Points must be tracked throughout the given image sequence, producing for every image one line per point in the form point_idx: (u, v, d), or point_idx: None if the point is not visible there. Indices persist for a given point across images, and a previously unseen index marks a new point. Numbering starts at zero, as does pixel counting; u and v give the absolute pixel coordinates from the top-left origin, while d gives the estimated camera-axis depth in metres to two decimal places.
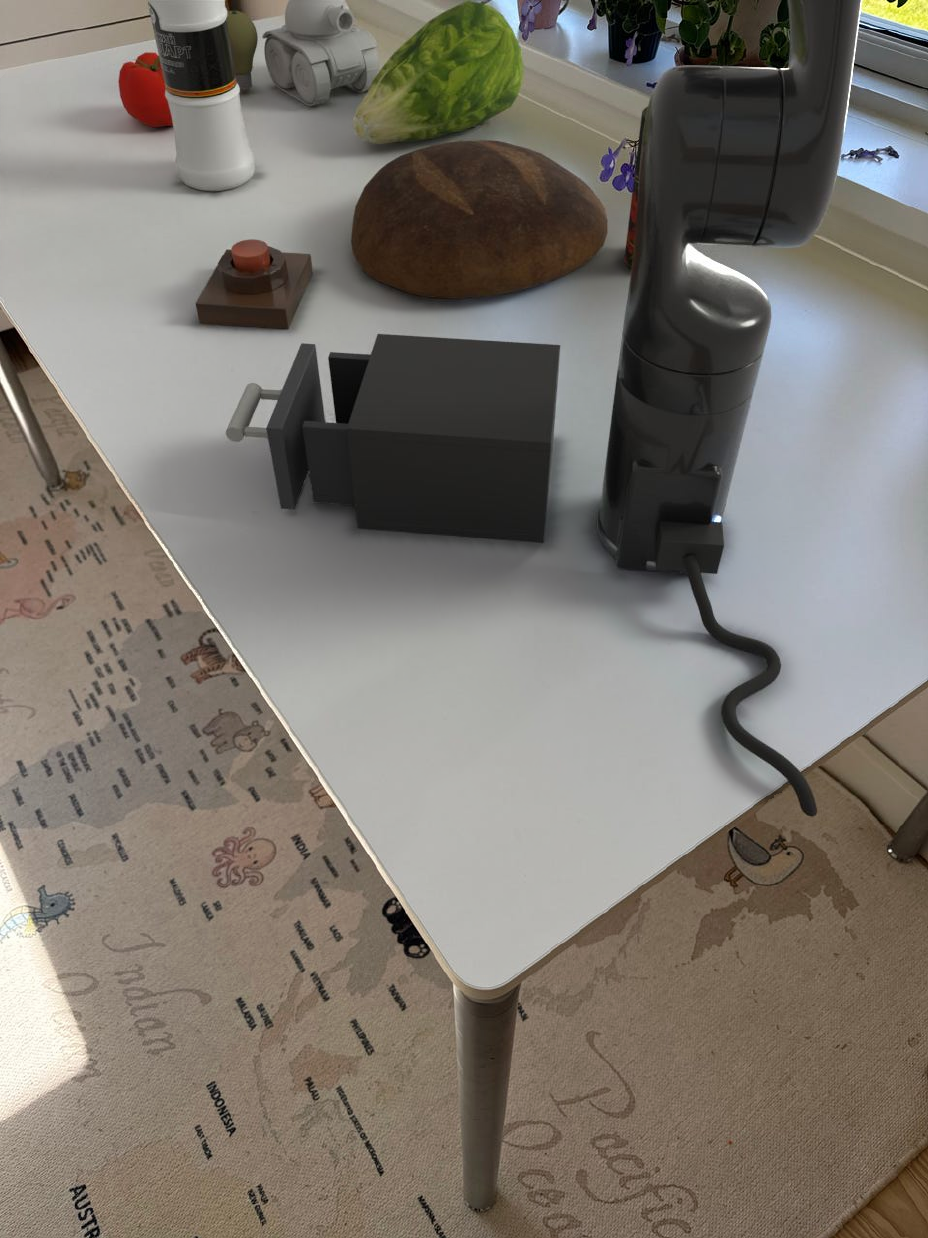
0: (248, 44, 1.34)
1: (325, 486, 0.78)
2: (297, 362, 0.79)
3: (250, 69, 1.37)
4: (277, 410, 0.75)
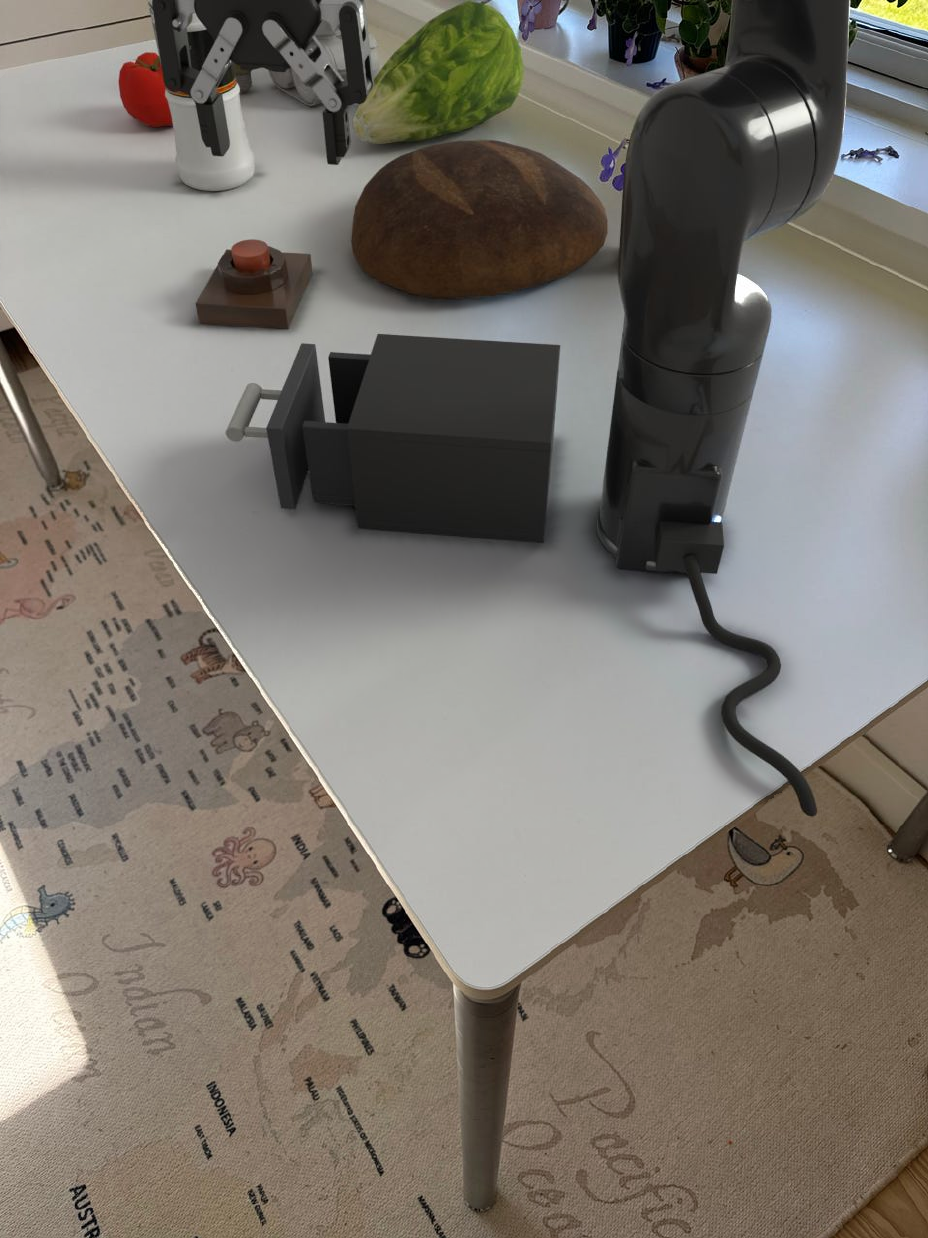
0: None
1: (325, 486, 0.78)
2: (297, 362, 0.79)
3: None
4: (277, 410, 0.75)
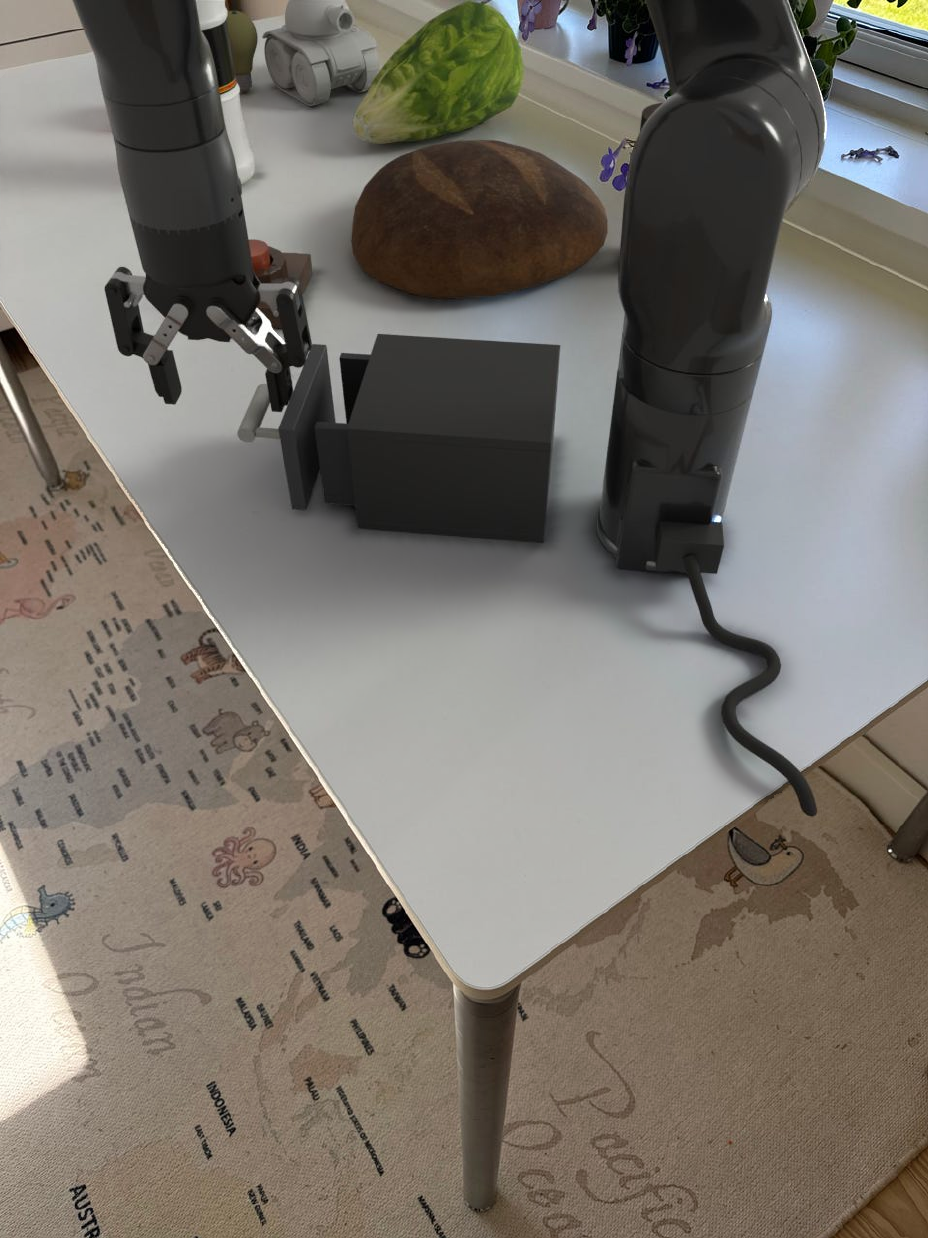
0: (248, 44, 1.34)
1: (337, 487, 0.78)
2: (308, 363, 0.79)
3: (250, 69, 1.37)
4: (289, 411, 0.75)
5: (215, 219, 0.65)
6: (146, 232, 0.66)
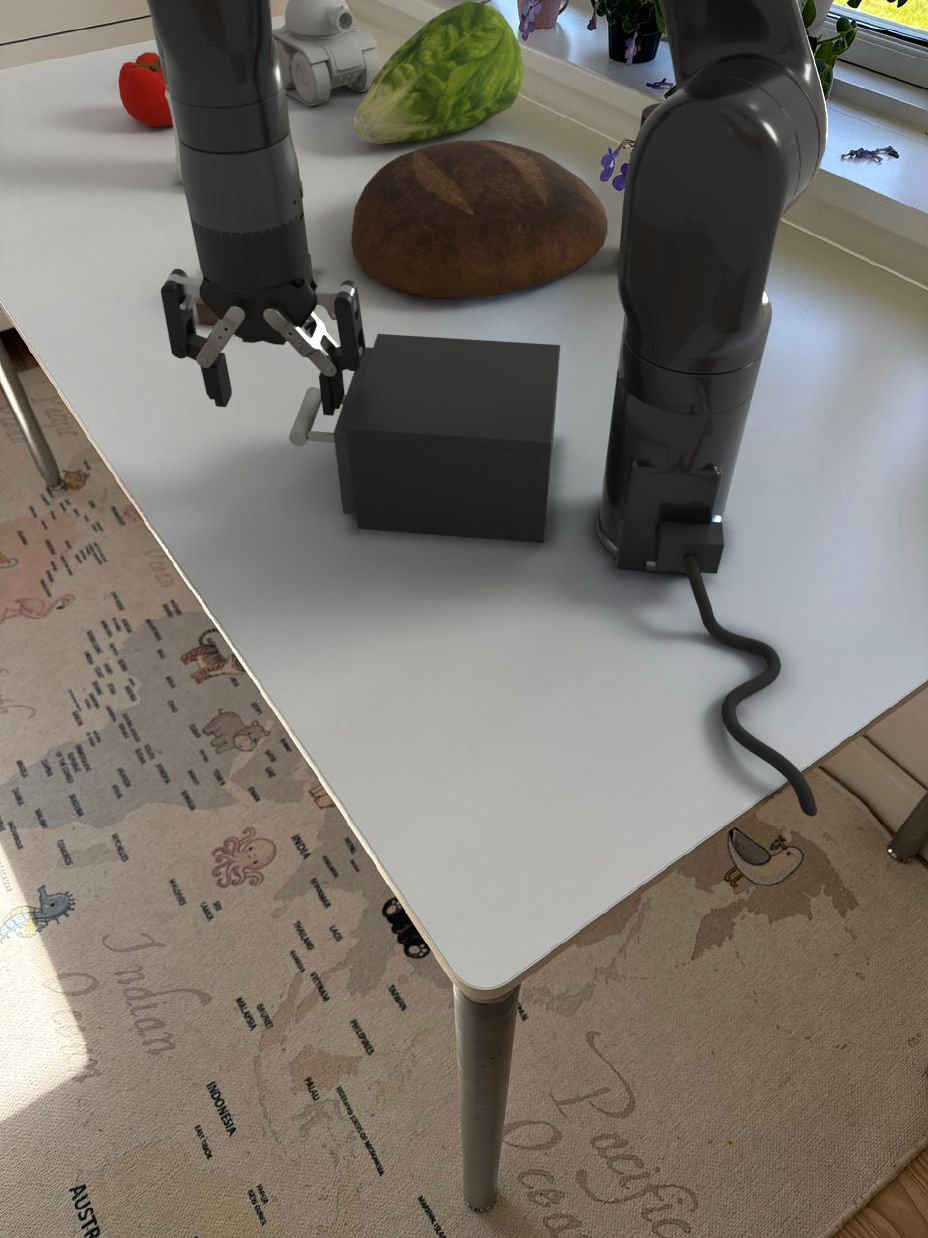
0: None
1: None
2: (360, 366, 0.79)
3: None
4: (343, 415, 0.74)
5: (278, 222, 0.65)
6: (208, 234, 0.65)
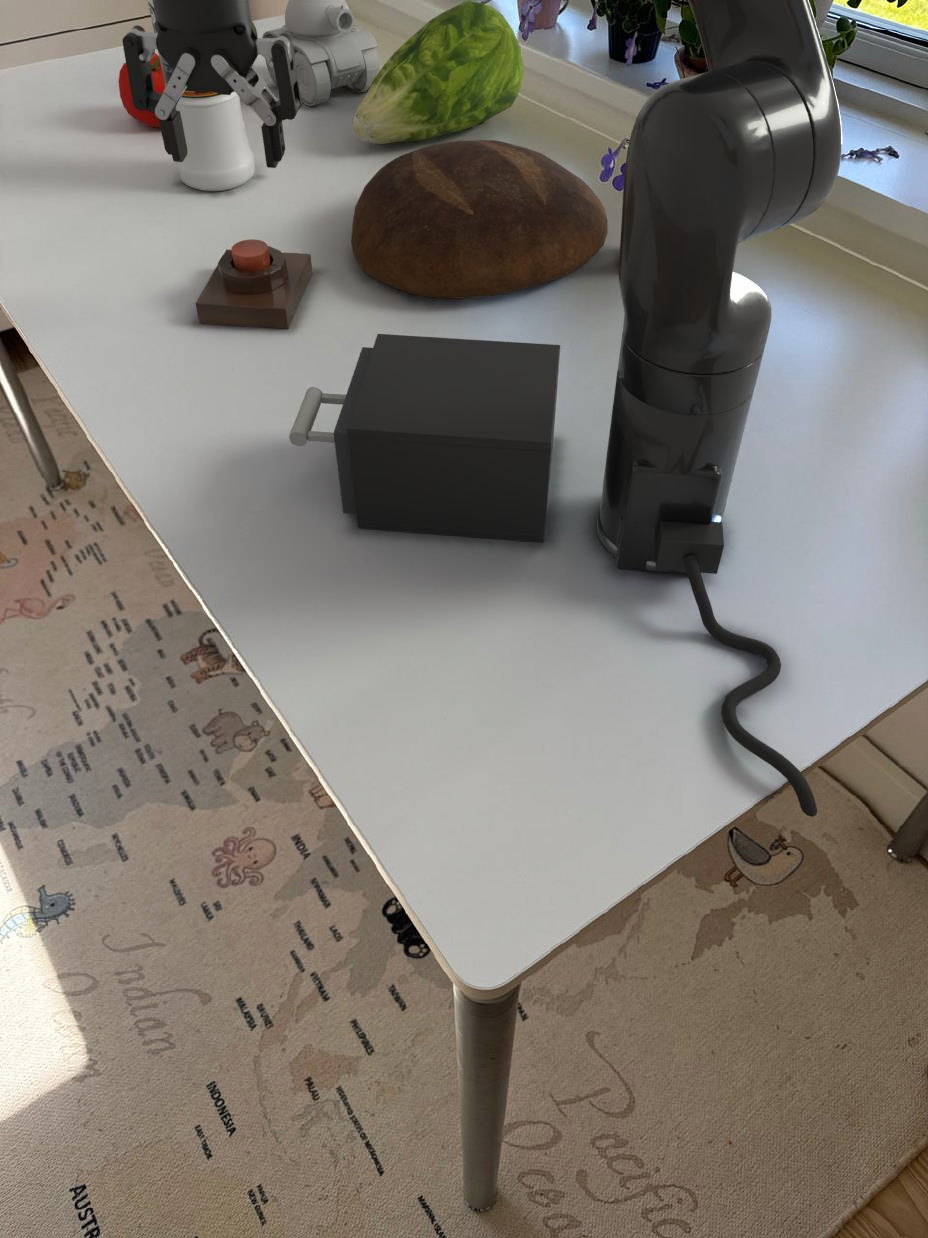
0: None
1: None
2: (360, 366, 0.79)
3: None
4: (343, 415, 0.74)
5: None
6: None
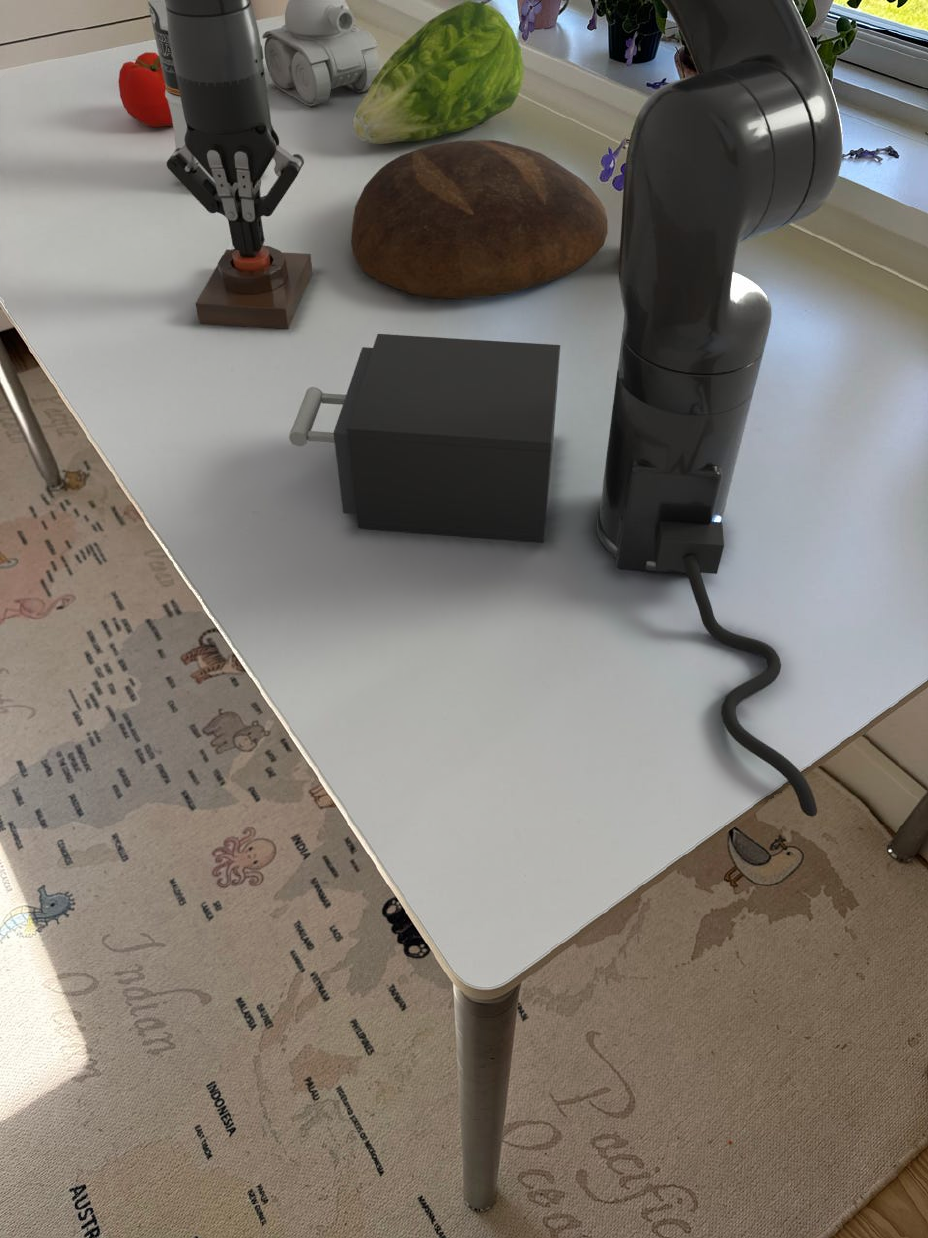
0: None
1: None
2: (360, 366, 0.79)
3: None
4: (343, 415, 0.74)
5: (243, 75, 0.84)
6: (189, 85, 0.85)
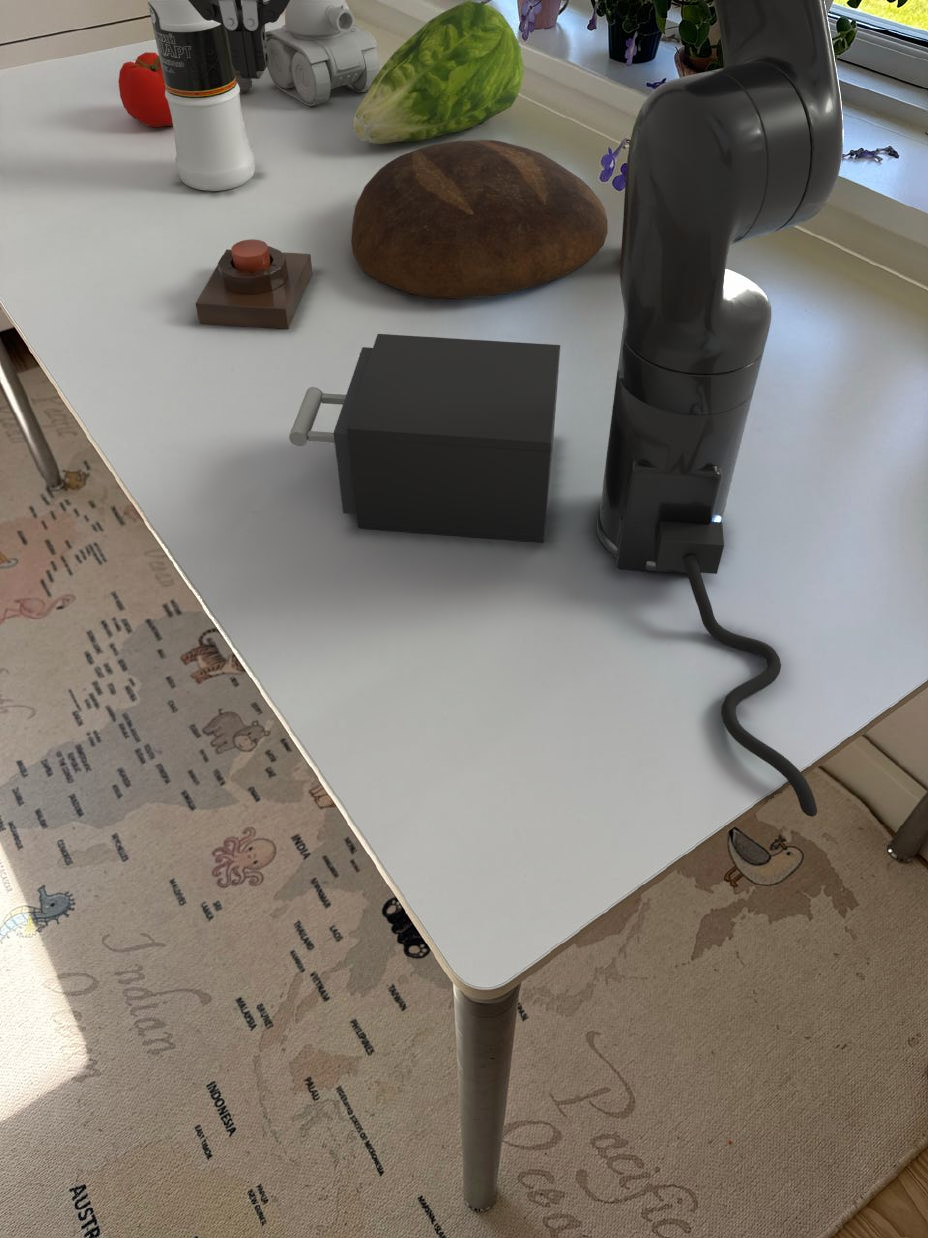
0: None
1: None
2: (360, 366, 0.79)
3: None
4: (343, 415, 0.74)
5: None
6: None
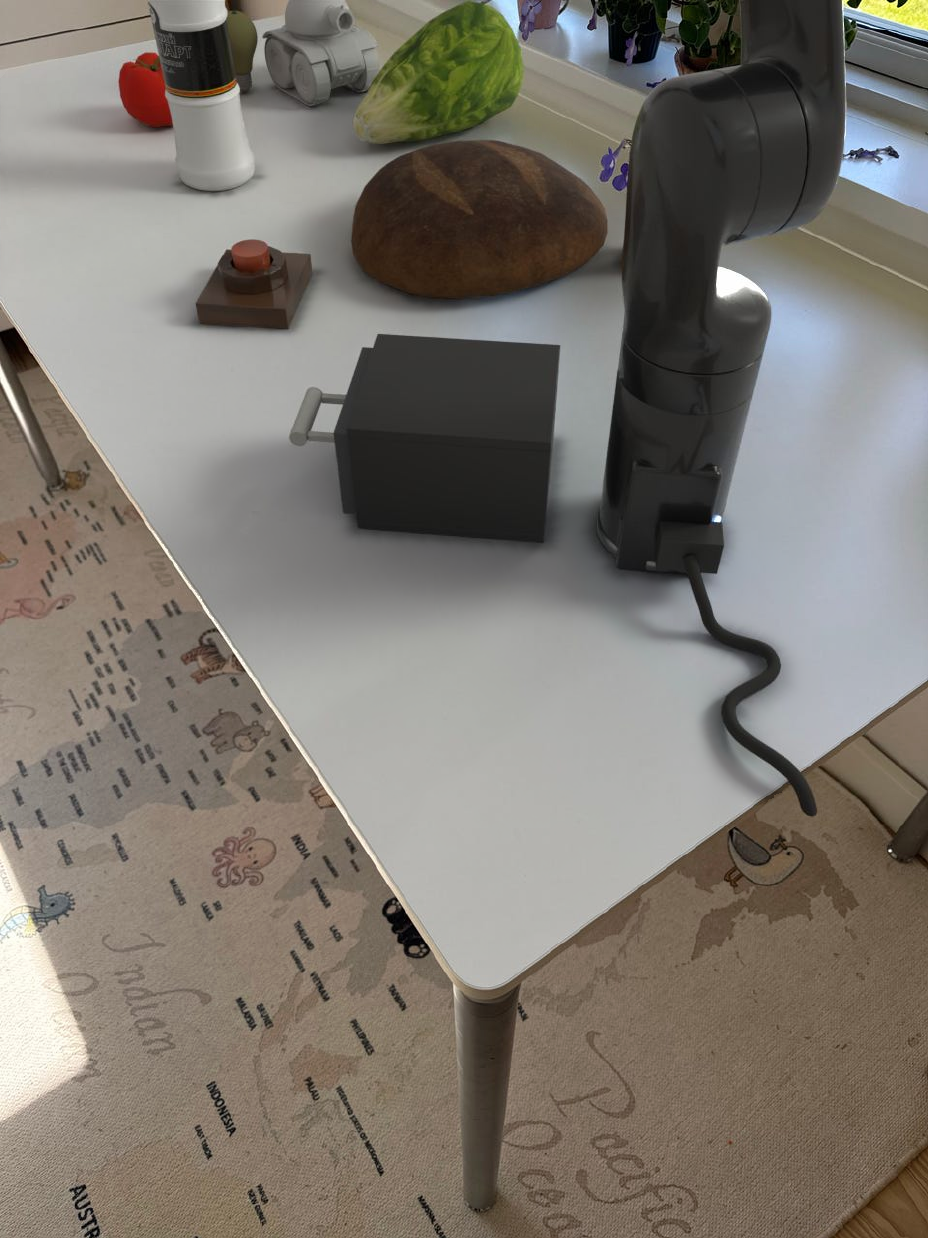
0: (248, 44, 1.34)
1: None
2: (360, 366, 0.79)
3: (250, 69, 1.37)
4: (343, 415, 0.74)
5: None
6: None
